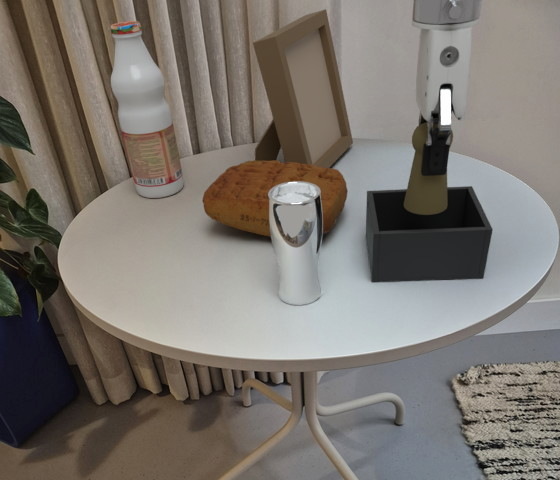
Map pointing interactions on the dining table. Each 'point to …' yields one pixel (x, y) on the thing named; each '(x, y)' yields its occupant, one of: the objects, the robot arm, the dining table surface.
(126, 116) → the fruit juice
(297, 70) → the photo frame
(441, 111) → the robot arm
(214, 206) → the clay tablet
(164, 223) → the dining table surface
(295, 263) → the beer glass
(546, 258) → the dining table surface
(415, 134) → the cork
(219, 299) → the dining table surface
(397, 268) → the basket
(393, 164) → the dining table surface
